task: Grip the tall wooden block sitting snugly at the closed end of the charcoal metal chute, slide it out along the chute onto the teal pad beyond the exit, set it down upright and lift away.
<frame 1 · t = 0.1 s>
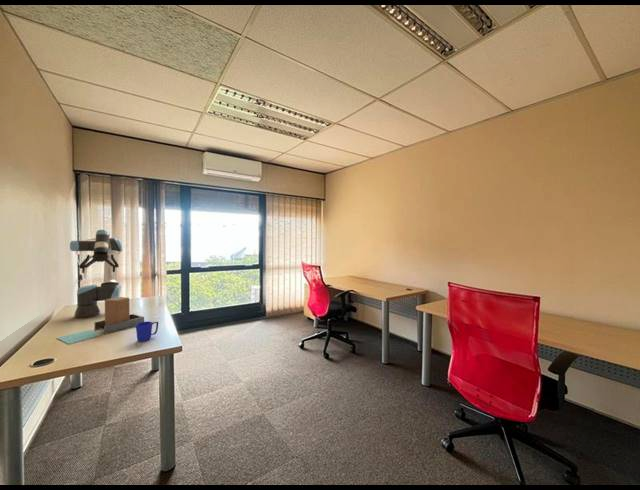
hand: (98, 276, 171), 36 cm above the table, tool tilted 35°, fingers open, 13 cm apart
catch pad: (79, 336, 161), on the table
wooden block: (117, 327, 178), resting in chute
mug: (147, 339, 159), on the table
chute: (119, 327, 179), on the table
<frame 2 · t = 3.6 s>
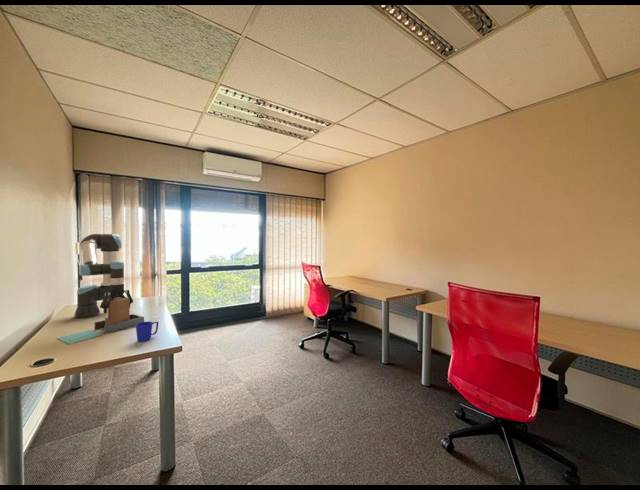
hand: (117, 315, 178), 8 cm above the table, tool pointing down, fingers closed on wooden block, 11 cm apart
wooden block: (117, 327, 178), resting in chute, touching gripper
everything else where it was.
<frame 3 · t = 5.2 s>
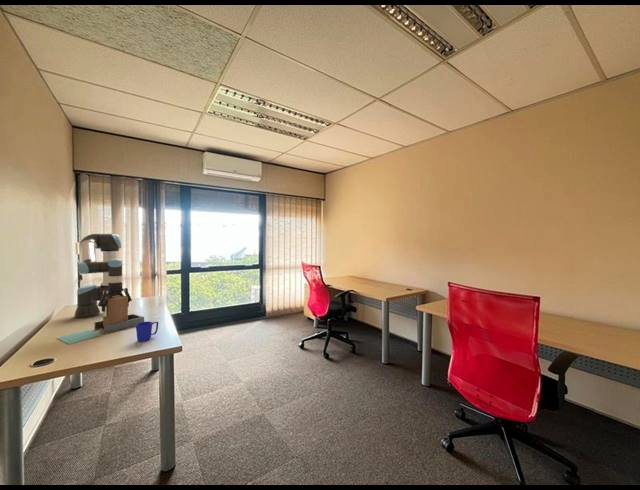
hand: (115, 313, 177), 10 cm above the table, tool pointing down, fingers closed on wooden block, 11 cm apart
wooden block: (115, 326, 177), point 1 cm above the table, touching gripper
everything else where it was.
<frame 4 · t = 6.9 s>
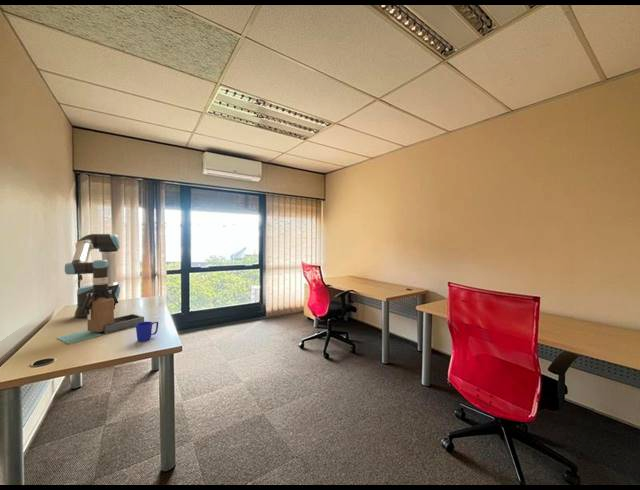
hand: (100, 317, 170), 10 cm above the table, tool pointing down, fingers closed on wooden block, 11 cm apart
wooden block: (101, 329, 170), point 1 cm above the table, touching gripper
everything else where it was.
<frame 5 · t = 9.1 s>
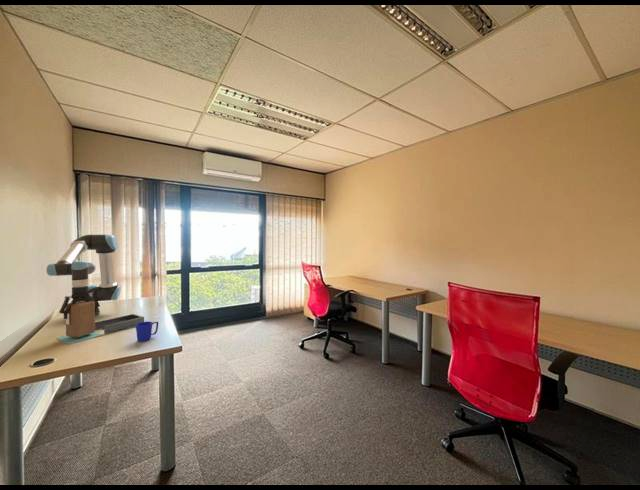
hand: (80, 321, 161), 10 cm above the table, tool pointing down, fingers closed on wooden block, 11 cm apart
wooden block: (80, 334, 161), point 1 cm above the table, touching gripper
everything else where it was.
when the fingers open (10 cm above the table, at t = 10.7 s): wooden block stays where it is, resting on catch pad.
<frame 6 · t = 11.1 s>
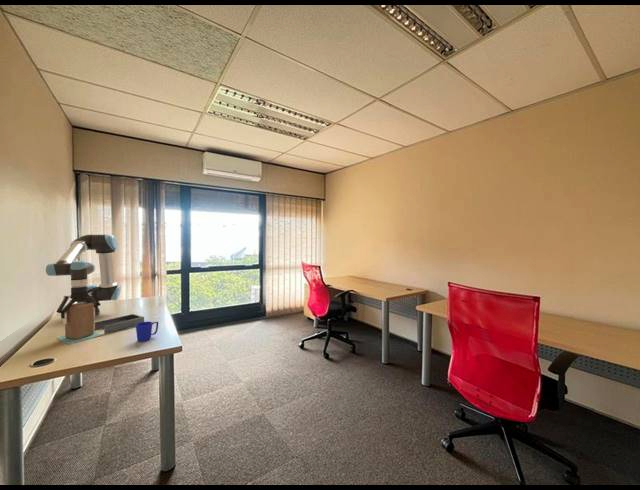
hand: (79, 320, 161), 10 cm above the table, tool pointing down, fingers open, 13 cm apart
wooden block: (79, 336, 161), resting on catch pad
everything else where it was.
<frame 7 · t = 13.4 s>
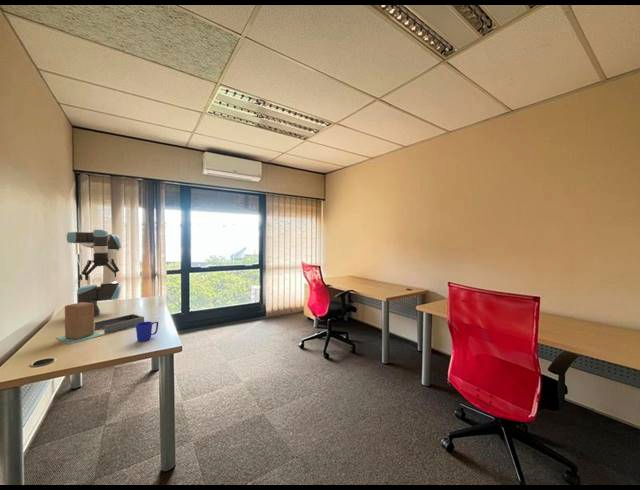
hand: (101, 283, 178), 30 cm above the table, tool pointing down, fingers open, 13 cm apart
nothing on the table moved.
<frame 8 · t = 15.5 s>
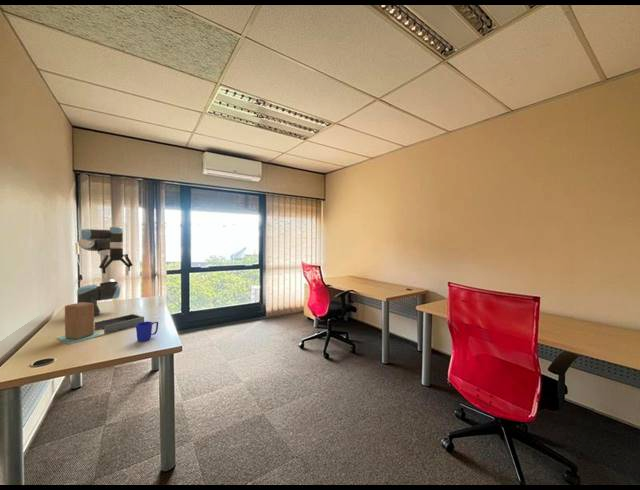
hand: (116, 276, 192), 33 cm above the table, tool pointing down, fingers open, 13 cm apart
nothing on the table moved.
at the end: wooden block inside the target area (0.1 cm from its centre), resting on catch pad; wooden block touching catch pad; wooden block tilted 0° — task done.
